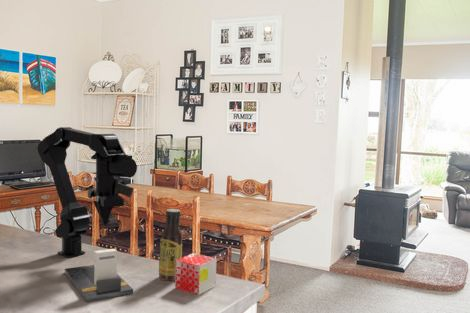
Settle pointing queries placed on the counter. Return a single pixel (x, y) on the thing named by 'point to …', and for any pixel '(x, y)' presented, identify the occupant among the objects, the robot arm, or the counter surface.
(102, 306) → the counter surface
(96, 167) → the robot arm
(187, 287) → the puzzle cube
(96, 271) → the fader tab
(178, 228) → the sauce bottle
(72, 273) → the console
